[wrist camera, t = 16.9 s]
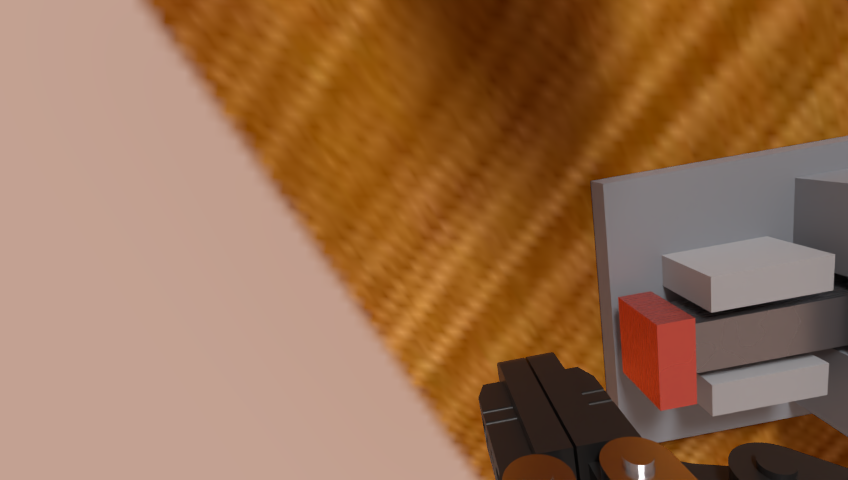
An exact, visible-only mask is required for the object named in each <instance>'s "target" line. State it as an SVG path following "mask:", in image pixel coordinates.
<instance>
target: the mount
mask: <svg viewBox="0 0 848 480" xmlns="http://www.w3.org/2000/svg"><path fill="white" fill-rule="evenodd" d="M591 192H592V205H593V218H594V231H595V244H596V257H597V271H598V284H599V297H600V310H601V323H602V336H603V349H604V362H605V375H606V388H607V394H608V395H609V396H610V398H611V400H612V401H614V403H615V404H616V405H617V407H618V408H619V409H620V410H621V412H622V413H623V414H624V415H625V417H626V418H627V419H628V420H629V422H630V423H631V424H632V426H633V427H634V428H635V429H636V431H637V432H638V433H639V434H640V436H641V437H642V438H645V439H649V440H652V441H654V442H657V443H659V442H665V441H670V440H675V439H680V438H686V437H691V436H696V435H701V434H707V433H712V432H717V431H723V430H728V429H733V428H738V427H744V426H749V425H754V424H759V423H765V422H770V421H775V420H780V419H786V418H791V417H796V416H802V415H807V414H814V415H815V416H817V417H819V418H820V419H822V420H823V421H825V422H826V423H828V424H829V425H831V426H832V427H834V428H835V429H837V430H838V431H840V432H841V433H843V434H844V435H846V436H847V437H848V345H846V346H840V347H835V348H830V349H824V350H819V351H814V352H808V353H803V354H798V355H792V356H787V357H781V358H776V359H771V360H765V361H760V362H755V363H749V364H744V365H739V366H733V367H728V368H722V369H717V370H712V371H706V372H701V373H696V374H697V404H695V405H690V406H684V407H679V408H674V409H668V410H663V411H660V410H659V409H658V408H657V407H656V406H655V405H654V404H653V403H652V401H651V400H650V399H649V398H648V397H647V396H646V395H645V394H644V393H643V392H642V391H641V390H640V389H639V388H638V387H637V386H636V385H635V384H634V383H633V382H632V381H631V380H630V379H629V378H628V377H627V376H626V375H625V374H624V372H623V365H622V350H621V335H620V319H619V304H618V297H622V296H627V295H633V294H638V293H644V292H649V291H651V292H653V293H655V294H656V295H658V296H660V297H661V298H663V299H665V300H666V301H668V302H673V301H678V300H684V299H688V300H689V301H691V302H693V303H695V304H697V305H698V306H700V307H702V308H704V309H706V310H707V311H709V312H711V313H712V312H718V311H723V310H729V309H734V308H740V307H745V306H751V305H756V304H761V303H767V302H772V301H778V300H783V299H789V298H794V297H800V296H805V295H810V294H816V293H821V292H827V291H832V290H833V287H834V273H837V274H840V275H843V276H847V277H848V136H844V137H838V138H833V139H827V140H821V141H816V142H810V143H804V144H799V145H793V146H787V147H782V148H776V149H770V150H764V151H759V152H753V153H747V154H742V155H736V156H730V157H725V158H719V159H713V160H708V161H702V162H696V163H690V164H685V165H679V166H673V167H668V168H662V169H656V170H651V171H645V172H639V173H634V174H628V175H622V176H617V177H611V178H605V179H599V180H594V181H591Z"/></svg>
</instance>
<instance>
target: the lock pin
mask: <svg viewBox="0 0 848 480" xmlns="http://www.w3.org/2000/svg"><path fill="white" fill-rule="evenodd" d="M618 304H619V319H620V335H621V350H622V365H623V372H624V374H625V375H626V376H627V377H628V378H629V379H630V380H631V381H632V382H633V383H634V384H635V385H636V386H637V387H638V388H639V389H640V390H641V391H642V392H643V393H644V394H645V395H646V396H647V397H648V398H649V399H650V400H651V401H652V403H653V404H654V405H655V406H656V407H657V408H658V409H659V410H660V411H663V410H668V409H674V408H679V407H684V406H690V405H695V404H697V374H696V373H701V372H706V371H712V370H717V369H722V368H728V367H733V366H739V365H744V364H749V363H755V362H760V361H765V360H771V359H776V358H781V357H787V356H792V355H798V354H803V353H808V352H814V351H819V350H824V349H830V348H835V347H840V346H846V345H848V277H847V276H843V275H840V274H837V273H834V287H833V290H832V291H827V292H821V293H816V294H810V295H805V296H800V297H794V298H789V299H783V300H778V301H772V302H767V303H761V304H756V305H751V306H745V307H740V308H734V309H729V310H723V311H718V312H712V313H711V312H709V311H707V310H706V309H704V308H702V307H700V306H698V305H697V304H695V303H693V302H691V301H689V300H688V299H684V300H678V301H673V302H668V301H666V300H665V299H663V298H661V297H660V296H658V295H656V294H655V293H653V292H651V291H649V292H644V293H638V294H633V295H627V296H622V297H618Z"/></svg>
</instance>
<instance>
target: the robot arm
mask: <svg viewBox="0 0 848 480" xmlns="http://www.w3.org/2000/svg"><path fill="white" fill-rule="evenodd" d="M497 367H498V374H499V380H500V382H497V383H491V384H486V385H483V387H482V390H481V392H480V395H479V403H480V409H481V415H482V420H483V426H484V432H485V437H486V443H487V448H488V452H489V456H490V460H491V463H492V467H493V471H494V475H495V478H496V480H848V468H845V467H842V466H839V465H837V464H834V463H831V462H828V461H825V460H822V459H819V458H816V457H813V456H810V455H807V454H804V453H801V452H798V451H795V450H792V449H789V448H786V447H782V446H779V445H774V444H769V443H747V444H743V445H740V446H738V447H736V448H734V449H733V450H732V451H731V453H730V455H729V459H728V464H729V466H719V465H704V464H692V463H686V462H681V461H679V460H678V459H677V458H676V457H675V456H674V454H673V453H672V452H670V451H669V450H668V449H667V448H665V447H664V446H662V445H661V444H659V443H657V442H654V441H652V440H649V439H645V438H642V437H641V436H640V434H639V433H638V432H637V431H636V429H635V428H634V427H633V426H632V424H631V423H630V422H629V420H628V419H627V418H626V417H625V415H624V414H623V413H622V412H621V410H620V409H619V408H618V407H617V405H616V404H615V403H614V401H612V400H611V398H610V396H609V395H608V394H607V393H606V391H604V390H603V387H602V386H601V385H600V384H599V382H598V381H597V380H596V379H595V377H594V376H593V375H591V374H589V373H587V372H585V371H584V370H582V369H580V368H578V367H575V368H570V369H564V367H563V366H562V364H561V363H560V361H559V360H558V358H557V357H556V356H555V354H554V353H553V352H551V353H545V354H540V355H535V356H530V357H526V358H520V359H515V360H509V361H504V362H499V363H497Z"/></svg>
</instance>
